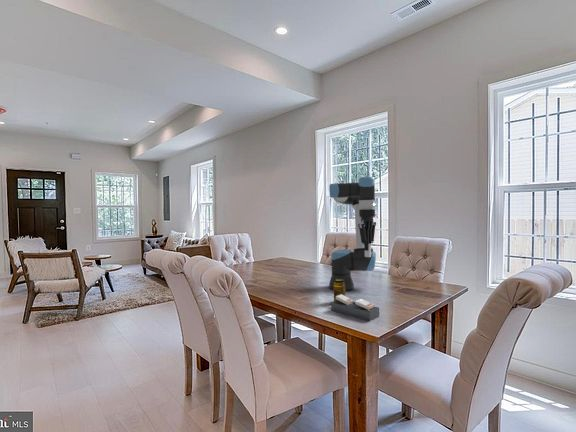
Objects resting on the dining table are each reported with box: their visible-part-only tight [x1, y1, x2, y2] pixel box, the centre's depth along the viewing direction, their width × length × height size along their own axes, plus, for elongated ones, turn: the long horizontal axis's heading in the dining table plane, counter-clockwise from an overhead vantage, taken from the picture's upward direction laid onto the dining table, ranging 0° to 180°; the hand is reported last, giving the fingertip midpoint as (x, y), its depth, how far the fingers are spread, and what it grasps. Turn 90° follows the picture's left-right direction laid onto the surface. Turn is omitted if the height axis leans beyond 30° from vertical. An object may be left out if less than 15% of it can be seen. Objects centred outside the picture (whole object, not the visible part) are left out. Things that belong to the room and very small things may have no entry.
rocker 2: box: [354, 298, 375, 310], centre depth 138 cm, size 7×4×2 cm, turn 44°
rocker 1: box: [336, 294, 354, 305], centre depth 146 cm, size 7×4×2 cm, turn 44°
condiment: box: [333, 279, 346, 301], centre depth 160 cm, size 7×8×12 cm
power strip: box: [329, 300, 380, 322], centre depth 143 cm, size 25×8×5 cm, turn 44°
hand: (367, 256), depth 150 cm, fingers closed
